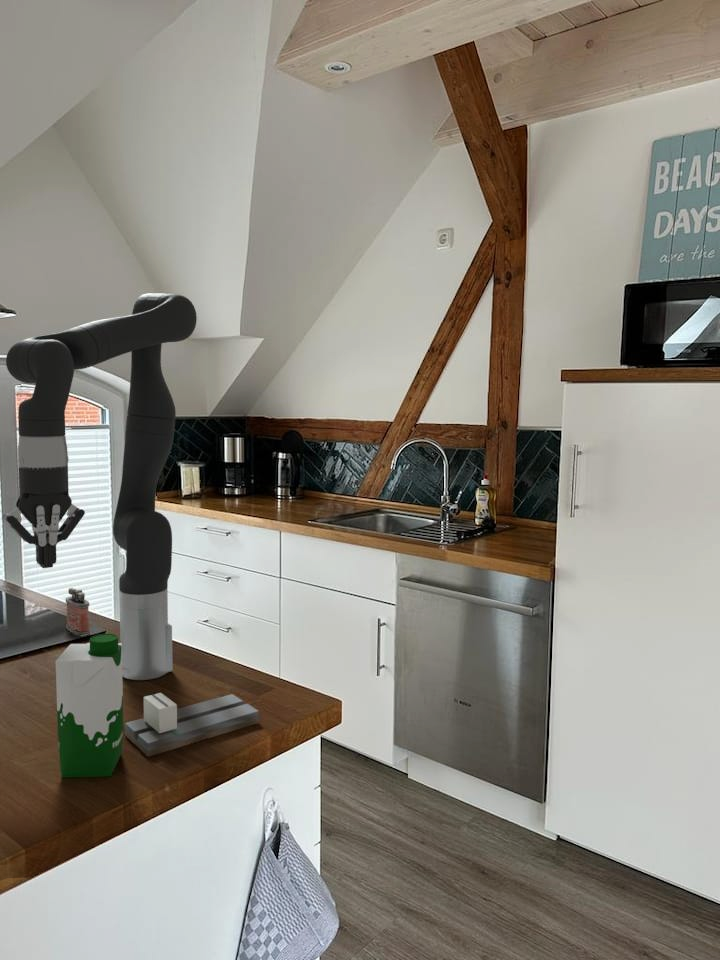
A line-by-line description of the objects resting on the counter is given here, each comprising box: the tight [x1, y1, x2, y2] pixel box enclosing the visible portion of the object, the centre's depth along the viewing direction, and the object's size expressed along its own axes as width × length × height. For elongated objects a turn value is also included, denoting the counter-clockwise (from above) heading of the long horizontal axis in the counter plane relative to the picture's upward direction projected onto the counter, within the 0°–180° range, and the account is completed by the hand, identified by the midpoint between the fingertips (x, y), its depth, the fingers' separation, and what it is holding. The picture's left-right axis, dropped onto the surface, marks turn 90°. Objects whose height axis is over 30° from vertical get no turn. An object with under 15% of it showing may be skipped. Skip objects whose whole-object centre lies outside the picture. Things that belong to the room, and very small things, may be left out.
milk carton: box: [54, 633, 124, 779], centre depth 114 cm, size 9×9×20 cm
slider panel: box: [124, 693, 260, 758], centre depth 127 cm, size 20×9×2 cm, turn 129°
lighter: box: [65, 587, 91, 635], centre depth 176 cm, size 8×3×10 cm, turn 47°
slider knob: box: [143, 692, 178, 733], centre depth 123 cm, size 3×6×5 cm, turn 39°
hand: (46, 566), depth 126 cm, fingers closed
